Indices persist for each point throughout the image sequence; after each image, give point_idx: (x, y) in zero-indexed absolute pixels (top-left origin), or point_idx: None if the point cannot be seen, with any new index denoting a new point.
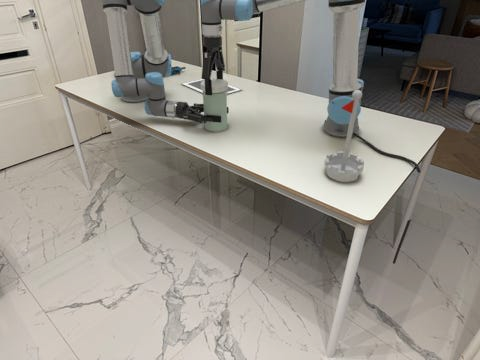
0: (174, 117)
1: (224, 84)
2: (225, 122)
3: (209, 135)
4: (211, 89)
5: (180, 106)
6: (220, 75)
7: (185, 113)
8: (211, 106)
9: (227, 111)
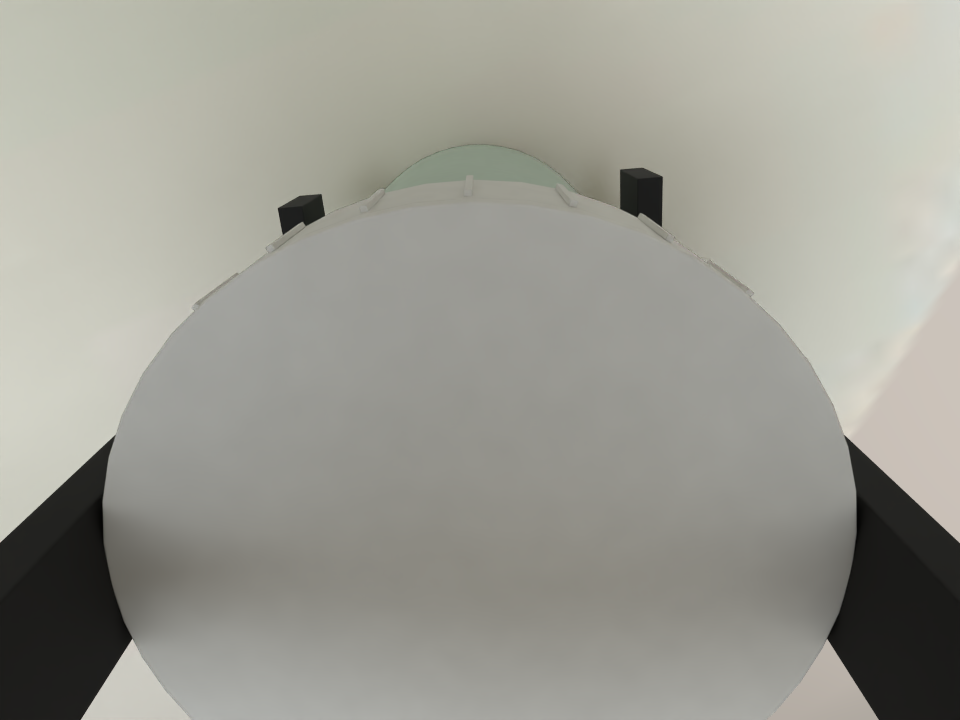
0: None
1: (534, 267)
2: (506, 153)
3: (695, 251)
4: (864, 476)
5: None
6: (41, 625)
7: None
8: None
9: (317, 205)
